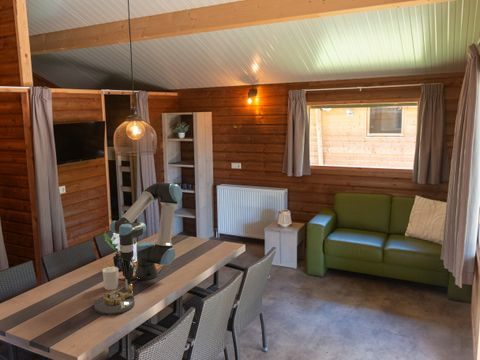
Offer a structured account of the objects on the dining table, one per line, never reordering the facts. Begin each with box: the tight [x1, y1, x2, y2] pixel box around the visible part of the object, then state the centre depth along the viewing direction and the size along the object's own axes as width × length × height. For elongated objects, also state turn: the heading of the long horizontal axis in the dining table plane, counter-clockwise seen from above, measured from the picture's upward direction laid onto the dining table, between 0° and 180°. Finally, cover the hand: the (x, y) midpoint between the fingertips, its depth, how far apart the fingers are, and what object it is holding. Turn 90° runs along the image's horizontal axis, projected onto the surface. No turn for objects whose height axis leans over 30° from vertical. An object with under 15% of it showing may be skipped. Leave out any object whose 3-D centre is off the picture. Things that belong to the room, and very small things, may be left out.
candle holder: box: [101, 266, 119, 291], centre depth 260 cm, size 10×10×12 cm
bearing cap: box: [93, 293, 135, 316], centre depth 235 cm, size 22×22×7 cm
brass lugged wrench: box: [103, 283, 134, 305], centre depth 237 cm, size 17×11×7 cm, turn 131°
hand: (128, 288), depth 242 cm, fingers closed
